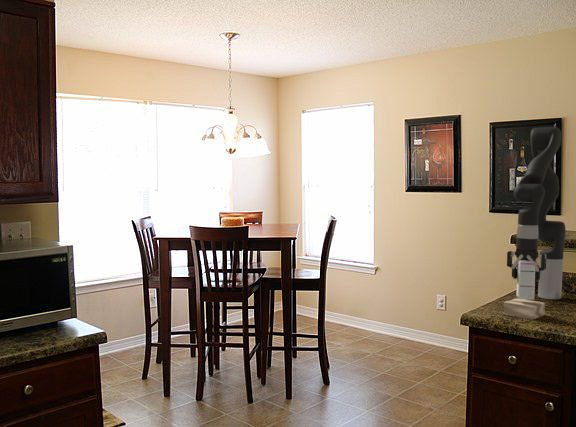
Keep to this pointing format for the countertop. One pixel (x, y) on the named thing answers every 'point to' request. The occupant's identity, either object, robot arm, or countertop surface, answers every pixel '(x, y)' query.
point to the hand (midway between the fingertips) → (525, 279)
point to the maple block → (524, 308)
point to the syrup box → (525, 280)
